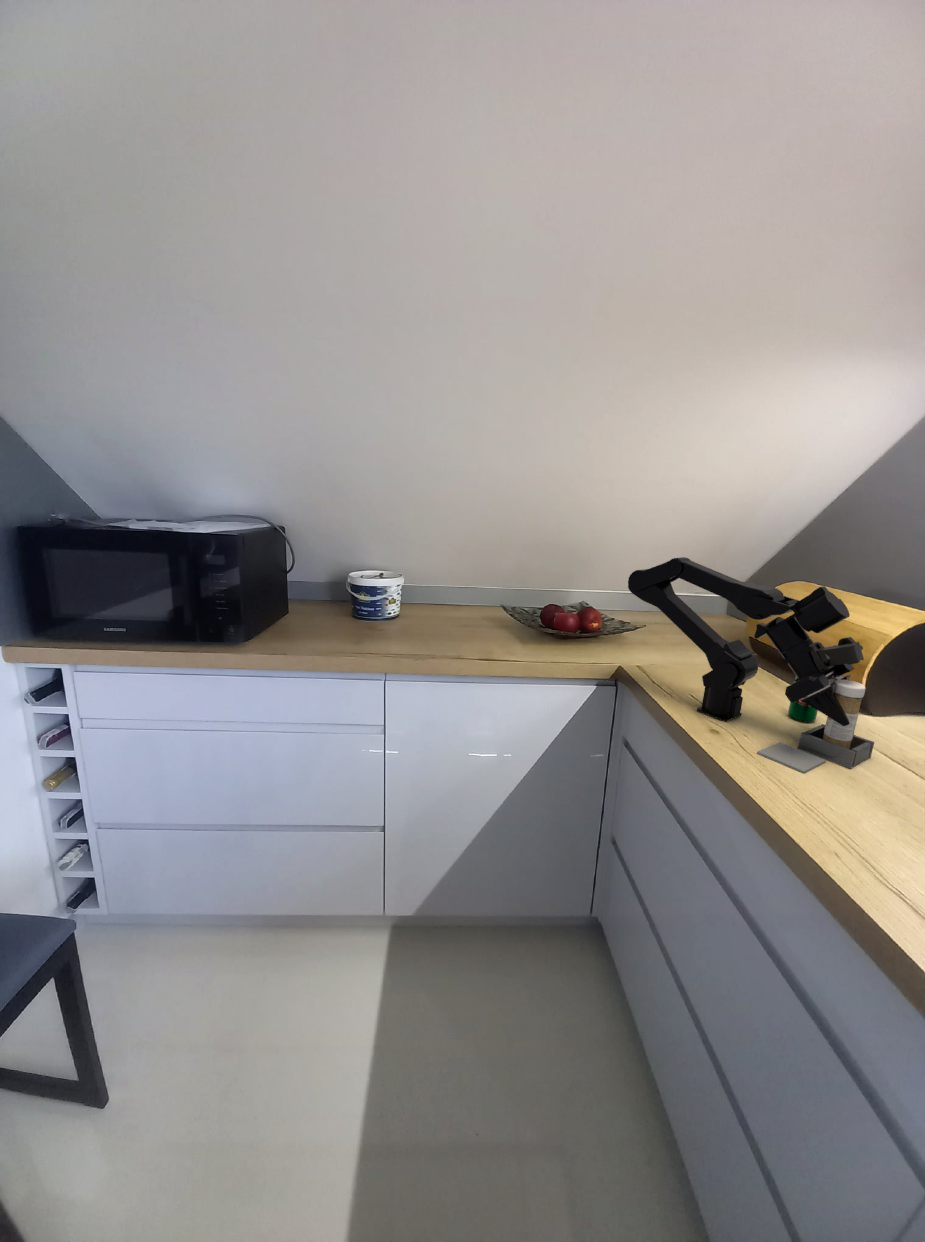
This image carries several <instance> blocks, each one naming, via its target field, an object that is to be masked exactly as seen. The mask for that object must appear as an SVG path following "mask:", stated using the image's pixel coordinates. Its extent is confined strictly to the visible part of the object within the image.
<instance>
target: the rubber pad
mask: <svg viewBox="0 0 925 1242" xmlns="http://www.w3.org/2000/svg"><path fill="white" fill-rule="evenodd" d="M756 754H757V755H759V756H761V757H764V758H767V759H769V760H771V761H773V762H776V763H778V764H780V765H783V766H785V767H787V768H791V769H792V770H794V771H797V772H799V773H802V774H806V773H807V772H810V771H813V769H816V768H818V767H820V766H821V765H823V764H825V763H827V760H826V759H823V758H821V757H818V756H816V755H813V754H811V753H808V752H806V751H803V750H801V749H798V747H794V746H791V745H789V744H787V743H784V742H781V741H779V742H777V743H774V744H771V745H769V746H767V747H765V748H762V749H760V750H758V751H757V752H756Z"/></svg>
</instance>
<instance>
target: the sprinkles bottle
mask: <svg viewBox="0 0 925 1242" xmlns="http://www.w3.org/2000/svg"><path fill="white" fill-rule="evenodd" d="M835 683H837V687H836V692H835V696H836V698H837V700H838V701H839V703H840V705H841V707H842V709H843V710H844V712H845V714H846V716H847V718H848V720H849V722H850V724H849V725H846V726H842V725H841V724H839V723H838V722H836V721H834V720H833V719H831V718H830V717H828V716H827V717H826V721H825V722H826V723H825V724H824V725H825V729H824V736H823V740H825V741H828V742H830V743H833V744H836V745H839V746H841V747H844V748H847V749H849V748H850V744H851V740H852V739H853V735H855V731H856V726H857V722H858V717H859V714H860V712H859V711H860V709H861V708H860V707H861V704H862V700H863V698H864V696H865V693H866V686H865V684H863V683H860V682H858V681H854V680H850V679H849V680H836V681H835ZM835 683H834V684H835Z"/></svg>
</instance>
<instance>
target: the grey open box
mask: <svg viewBox="0 0 925 1242" xmlns="http://www.w3.org/2000/svg"><path fill="white" fill-rule="evenodd" d="M825 725H826V724H823V723H822V724H819V725H818V726H814V727H813V728H811V729H808V730H806V731H804V732H801V733H800V736H799V740H798V741H799V743H798V746H797V749H799V750H802V751H804V752H807V753H809V754H812V755H814V756H817V757H819V758H822V759H825V760H826V761H829V762H831V763H833V764H836V765H839V766H841V767H844V768H847V769H849V770H851V769H852V768H854V767H856V766H858V765H860V764H861V763H863V762H865V761H867V760H868V759H871V757H872V754H873V750H874V745H875V741H872V740H871V739H870V740H869V739H868V738H864V737H861V736H858V735H856V734H854V735H853V739H852V740H851V744H850V748H849V749H847V748H844V747H841V746H839V745H836V744H833V743H830V742H828V741H825V740H823V736H824V729H825Z"/></svg>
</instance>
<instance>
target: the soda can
mask: <svg viewBox="0 0 925 1242" xmlns="http://www.w3.org/2000/svg"><path fill="white" fill-rule="evenodd" d="M797 678H798V677H797V676H796V675H795V679H797ZM795 679H794V680H795ZM793 683H795V681H794V682H793ZM806 697H807V696H806ZM806 697H804V698H806ZM804 698H802V699H804ZM802 699H800V700H797V701H795V702H793V703H791V702H790V701H789V706H788V711H787V715H788V716H789V717H790V718H791V719H792V720H794V721H797V722H800V723H807V724H808V723H813V722H815V721H816V720H817V717H818V712H819V711H818V710H816V709H815V708H813V707H811V706H809V705H808V704H806V703H802V702H801V700H802Z"/></svg>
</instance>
